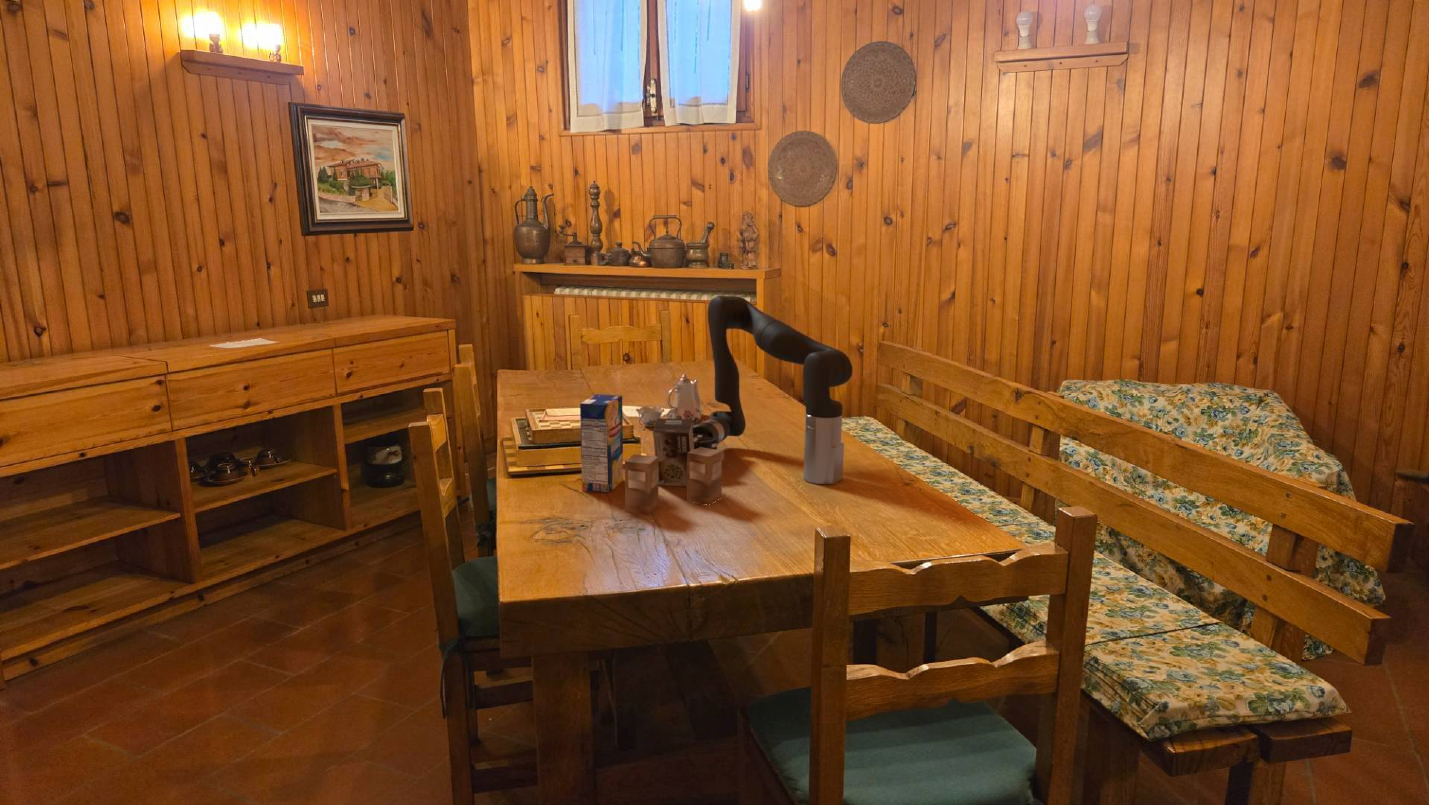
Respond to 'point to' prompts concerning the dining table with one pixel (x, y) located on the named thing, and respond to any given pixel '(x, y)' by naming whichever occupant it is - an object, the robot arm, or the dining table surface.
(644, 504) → the marked block 1
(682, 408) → the chinaware
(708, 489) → the marked block 2
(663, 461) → the coffee box
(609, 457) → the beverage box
